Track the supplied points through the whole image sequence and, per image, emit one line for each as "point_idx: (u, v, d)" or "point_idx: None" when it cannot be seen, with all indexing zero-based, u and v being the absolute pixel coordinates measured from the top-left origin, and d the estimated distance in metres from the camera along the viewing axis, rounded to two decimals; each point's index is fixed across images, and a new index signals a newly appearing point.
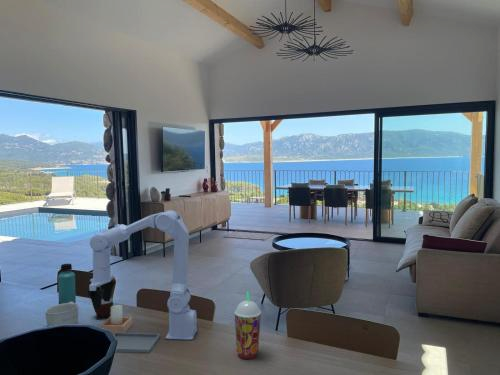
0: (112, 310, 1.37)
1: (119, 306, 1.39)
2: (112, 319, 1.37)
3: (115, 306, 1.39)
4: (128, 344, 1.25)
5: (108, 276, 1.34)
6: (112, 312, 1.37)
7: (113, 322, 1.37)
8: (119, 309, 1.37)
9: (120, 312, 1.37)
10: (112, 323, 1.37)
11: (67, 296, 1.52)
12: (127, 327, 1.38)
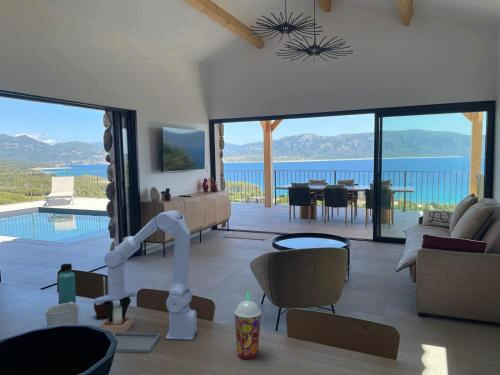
0: None
1: (119, 306, 1.39)
2: None
3: (115, 306, 1.39)
4: (128, 344, 1.25)
5: (117, 293, 1.36)
6: (112, 312, 1.37)
7: (113, 322, 1.37)
8: (119, 309, 1.37)
9: (120, 312, 1.37)
10: (112, 323, 1.37)
11: (67, 296, 1.52)
12: (127, 327, 1.38)
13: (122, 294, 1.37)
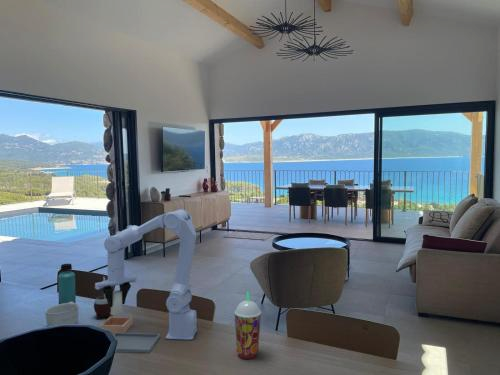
0: None
1: (119, 291, 1.39)
2: None
3: (115, 291, 1.39)
4: (128, 344, 1.25)
5: (117, 278, 1.36)
6: (112, 297, 1.37)
7: (113, 307, 1.36)
8: (119, 294, 1.37)
9: (120, 297, 1.37)
10: (112, 308, 1.37)
11: (67, 296, 1.52)
12: (127, 327, 1.38)
13: (122, 279, 1.37)
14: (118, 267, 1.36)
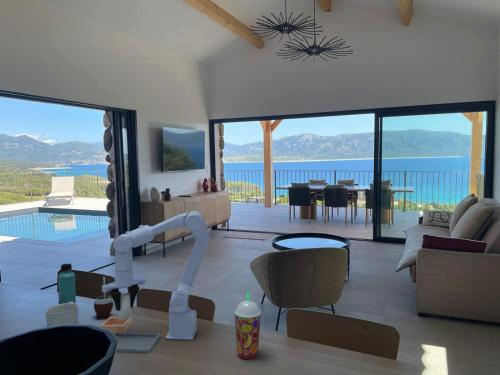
0: (120, 298, 1.30)
1: (127, 294, 1.32)
2: (120, 307, 1.30)
3: (123, 294, 1.32)
4: (128, 344, 1.25)
5: (125, 280, 1.28)
6: (120, 300, 1.30)
7: (121, 310, 1.29)
8: (127, 297, 1.30)
9: (128, 300, 1.30)
10: (120, 312, 1.30)
11: (67, 296, 1.52)
12: (127, 327, 1.38)
13: (130, 281, 1.30)
14: (129, 268, 1.29)
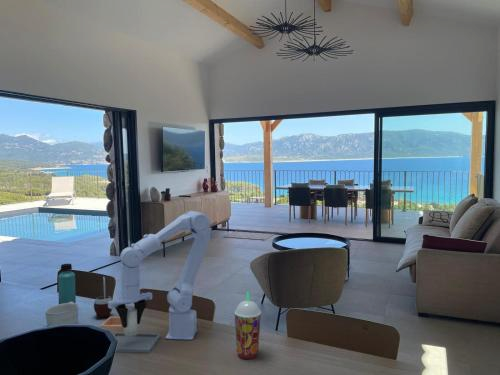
0: None
1: (134, 310, 1.26)
2: None
3: (129, 310, 1.26)
4: (128, 344, 1.25)
5: (132, 296, 1.23)
6: None
7: (128, 327, 1.24)
8: (133, 313, 1.24)
9: (134, 316, 1.25)
10: (126, 328, 1.24)
11: (67, 296, 1.52)
12: None
13: (137, 297, 1.25)
14: (138, 282, 1.25)
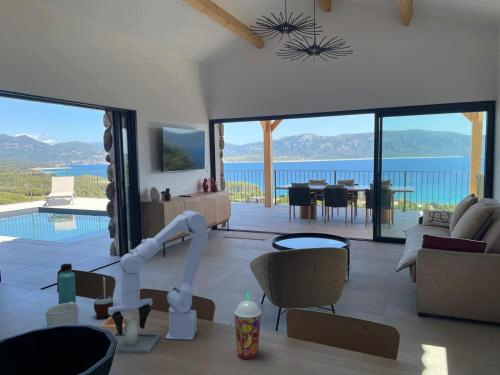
0: (126, 323, 1.24)
1: (134, 319, 1.26)
2: (126, 333, 1.24)
3: (130, 319, 1.26)
4: None
5: (132, 302, 1.23)
6: (126, 325, 1.24)
7: (128, 336, 1.24)
8: (134, 322, 1.25)
9: (135, 325, 1.25)
10: (126, 338, 1.24)
11: (67, 296, 1.52)
12: None
13: (137, 303, 1.25)
14: (138, 288, 1.25)
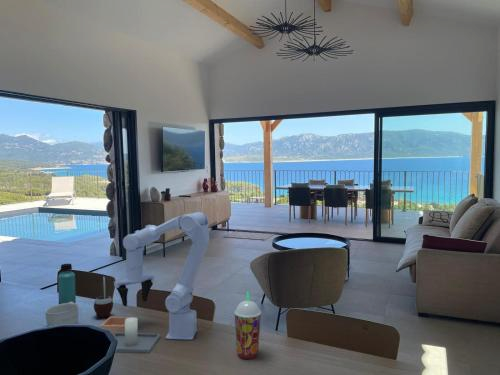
0: (126, 323, 1.24)
1: (134, 319, 1.26)
2: (126, 333, 1.24)
3: (130, 319, 1.26)
4: None
5: (136, 276, 1.37)
6: (126, 325, 1.24)
7: (128, 336, 1.24)
8: (134, 322, 1.25)
9: (135, 325, 1.25)
10: (126, 338, 1.24)
11: (67, 296, 1.52)
12: None
13: (141, 277, 1.38)
14: (136, 266, 1.36)
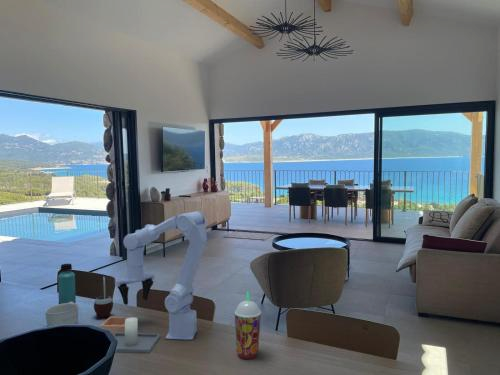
0: (126, 323, 1.24)
1: (134, 319, 1.26)
2: (126, 333, 1.24)
3: (130, 319, 1.26)
4: None
5: (136, 275, 1.38)
6: (126, 325, 1.24)
7: (128, 336, 1.24)
8: (134, 322, 1.25)
9: (135, 325, 1.25)
10: (126, 337, 1.24)
11: (67, 296, 1.52)
12: None
13: (141, 276, 1.40)
14: (136, 265, 1.38)
